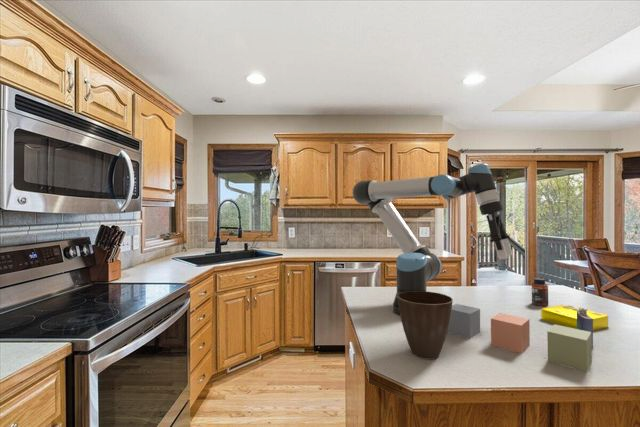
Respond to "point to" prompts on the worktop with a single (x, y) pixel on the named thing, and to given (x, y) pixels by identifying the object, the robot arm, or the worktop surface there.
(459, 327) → the slate block
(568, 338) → the olive block
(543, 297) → the supplement bottle
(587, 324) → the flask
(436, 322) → the plant pot
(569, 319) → the element tile
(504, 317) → the terracotta block
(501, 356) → the worktop surface
